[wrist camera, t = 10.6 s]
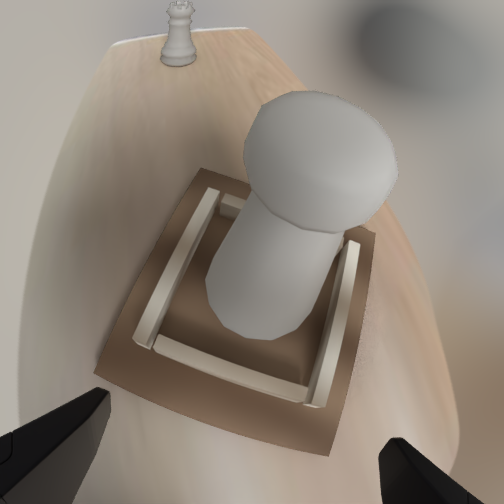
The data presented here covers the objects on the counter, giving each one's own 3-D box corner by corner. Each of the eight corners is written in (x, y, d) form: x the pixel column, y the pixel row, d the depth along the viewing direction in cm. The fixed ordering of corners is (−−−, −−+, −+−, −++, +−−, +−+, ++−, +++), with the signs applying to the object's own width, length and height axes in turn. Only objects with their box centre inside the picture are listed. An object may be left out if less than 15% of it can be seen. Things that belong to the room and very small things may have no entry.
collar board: (322, 454, 15) (339, 459, 13) (98, 375, 16) (84, 369, 14) (369, 239, 23) (384, 222, 21) (200, 176, 24) (201, 153, 21)
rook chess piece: (203, 58, 33) (209, 2, 26) (180, 71, 31) (183, 10, 24) (176, 50, 34) (179, -3, 27) (152, 62, 31) (152, 5, 25)
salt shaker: (289, 360, 17) (445, 253, 6) (191, 331, 17) (181, 164, 6) (308, 272, 20) (418, 109, 9) (222, 245, 20) (256, 50, 9)
